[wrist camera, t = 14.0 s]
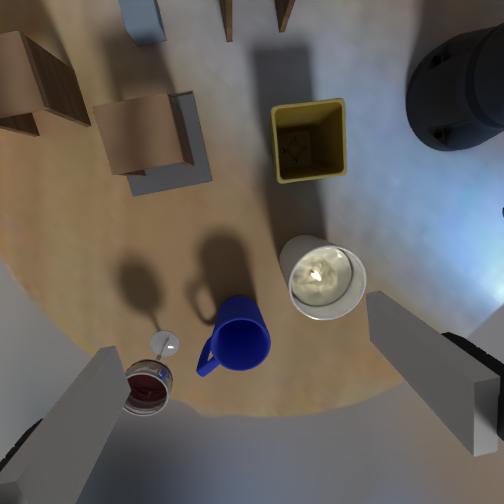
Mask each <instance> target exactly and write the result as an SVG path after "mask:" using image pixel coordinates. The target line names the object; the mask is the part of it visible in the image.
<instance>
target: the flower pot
mask: <svg viewBox="0 0 504 504" xmlns="http://www.w3.org/2000/svg"><path fill="white" fill-rule="evenodd" d="M270 130H271V140H272V150H273V162H274V175H275V178H276V180H277V181H278V182H279V183H281V184H282V183H289V182H297V181H304V180H312V179H320V178H329V177H337V176H343V175H345V174H346V172H347V157H346V128H345V103H344V99H342V98H336V99H328V100H320V101H313V102H304V103H295V104H285V105H277V106H274V107H272V109H271V115H270ZM293 136H294V137H295V140H292V137H293ZM304 146H305V147H306V148H307V149H306V150H303V147H304ZM283 149H285V150H286V152H285V153H283V152H282V150H283ZM294 159H296V160H297V162H296V163H294V162H293V160H294Z"/></svg>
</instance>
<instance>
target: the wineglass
mask: <svg viewBox="0 0 504 504" xmlns="http://www.w3.org/2000/svg"><path fill="white" fill-rule="evenodd" d="M150 346H151V349H152V350H153V352H154V353H156V354H157V355H158V356H157V358H156V359H149V358H148V359H143V360H140V361H138V362H136V363H134V364H133V365H132V366H131V367H130V368H129V369H128V370H127V371H126V372H125V375H126V377H127V380H128V383H129V386H130V389H131V392H130V394H129V396H128V398H127V400H126V402H125V404H124V406H123V409H125V410H126V411H127V412H129V413H131V414H134V415H137V416H149V415H154V414H156V413H158V412H160V411H161V410H162V409H163V408H164V407H165V405H166V403H167V401H168V396H169V394H170V392H171V390H172V385H173V378H172V374H171V371H170V369H169V368H168V366H167V365H166V364H164V363H163V362H162V361H160V359H161V356H171V355H173V354H174V353H175V352H176V351H177V350H178V348H179V340H178V338H177V336H176V335H175V334H173V333H172V332H169V331H159V332H157V333H155V334H154V335H153V336H152V338H151V340H150Z"/></svg>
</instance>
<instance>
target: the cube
mask: <svg viewBox="0 0 504 504" xmlns="http://www.w3.org/2000/svg"><path fill="white" fill-rule="evenodd" d="M119 4H120V8H121V12H122V16H123V20H124V24H125V27H126V30H127V32H128V33H129V35H130V36H131V38H132V39H133V41H134V42H135V44H136V45H137V46H139V45H145V44H150V43H156V42H161V41H166V36H165V32H164V28H163V23H162V19H161V15H160V10H159V6H158V3H157V1H156V0H119Z"/></svg>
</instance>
